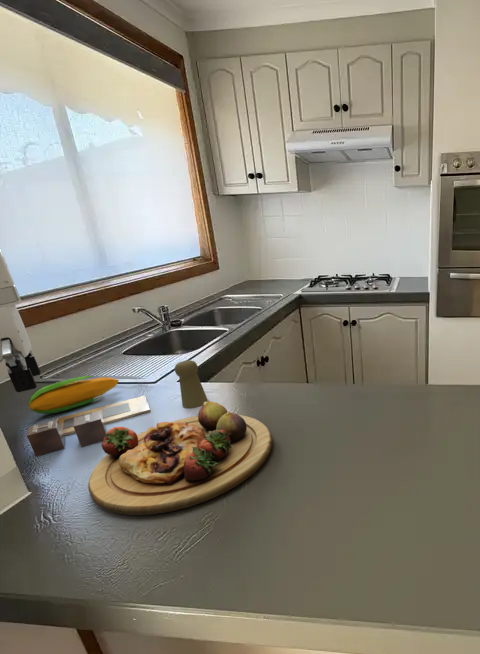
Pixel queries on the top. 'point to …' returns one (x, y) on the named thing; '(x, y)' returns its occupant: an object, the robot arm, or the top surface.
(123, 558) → the top surface
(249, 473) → the wooden plate
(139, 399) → the word board
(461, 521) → the top surface
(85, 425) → the brown cube
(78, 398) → the corn
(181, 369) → the pepper mill
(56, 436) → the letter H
